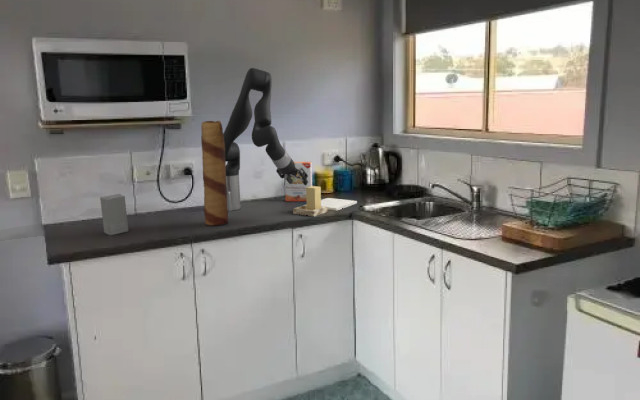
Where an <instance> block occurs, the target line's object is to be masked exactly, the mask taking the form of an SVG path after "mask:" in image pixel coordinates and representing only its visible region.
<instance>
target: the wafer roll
mask: <svg viewBox="0 0 640 400" xmlns="http://www.w3.org/2000/svg"><path fill="white" fill-rule="evenodd" d="M200 127H201V130H200V131H201V143H200V144H201V153H202V155H201V156H202V180H203V188H204V189H203V190H204V191H203V196H204V197H203V203H204V204H203V209H204V210H203V212H204V222H205V223H204V224H205V225H207V226H220V225H221V226H222V225H226V224H228V223H229V211H228V209H227V187H226V165H227V163H226V162H225V142H224V135H223V133H224V132H223V124H222V122H221V121H220V120H216V121H214V120H205V121H202V123H201V126H200Z"/></svg>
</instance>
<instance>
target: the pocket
mask: <svg viewBox="0 0 640 400" xmlns="http://www.w3.org/2000/svg"><path fill="white" fill-rule="evenodd" d="M325 213H328V210H327V207H325V206H324V207H321V208H318V209H315V210H307V203H306V204H303V205H300V206H297V207H294V208H293V209H292V214H293V215H299V214H300V216H306V215H308V217H313V216H314V217H317V216H320V215H323V214H325Z"/></svg>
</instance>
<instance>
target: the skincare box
mask: <svg viewBox="0 0 640 400" xmlns="http://www.w3.org/2000/svg"><path fill="white" fill-rule="evenodd" d="M99 198H100V199H99V200H100V207H101V216H102V217H101V218H102V226H103V232H104V234H107V235H109V236H113V235H114V236H115V235H118V234H119V235H120V234H122V233H123V234H124V233H126V232H129V224H128V223H129V222H128V214H127V205H126V196H125V195H123V194H121V193H116V194H111V195H105V196H100V197H99Z"/></svg>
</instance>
